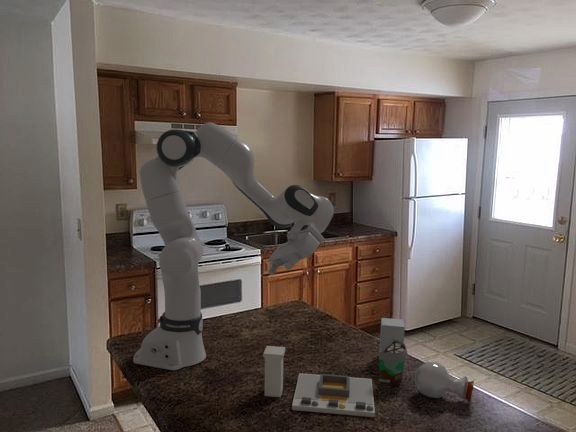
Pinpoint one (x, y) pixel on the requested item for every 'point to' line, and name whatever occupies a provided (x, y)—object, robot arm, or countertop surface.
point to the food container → (392, 363)
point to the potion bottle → (441, 382)
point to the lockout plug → (273, 370)
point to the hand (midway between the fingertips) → (278, 271)
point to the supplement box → (391, 332)
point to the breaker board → (334, 395)
